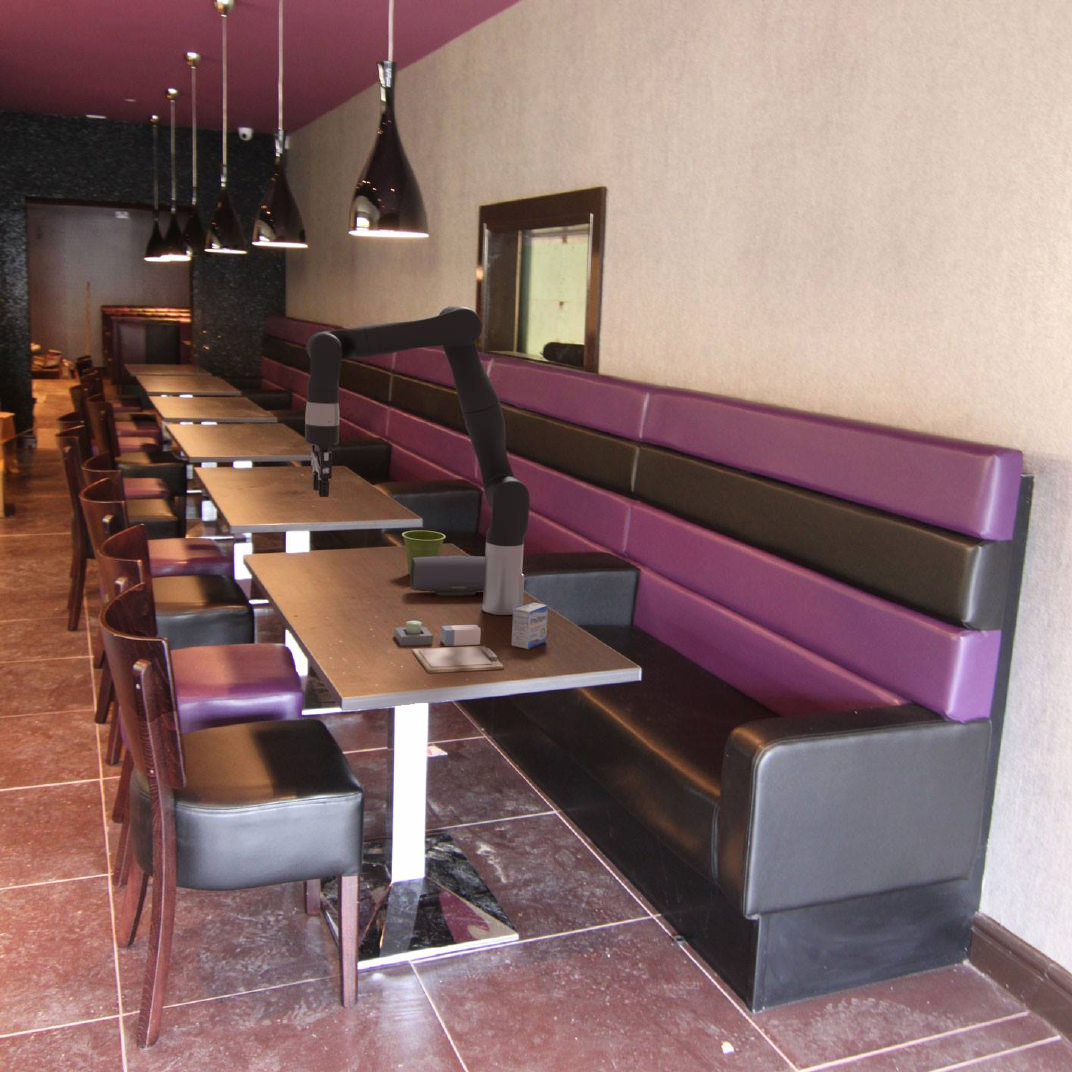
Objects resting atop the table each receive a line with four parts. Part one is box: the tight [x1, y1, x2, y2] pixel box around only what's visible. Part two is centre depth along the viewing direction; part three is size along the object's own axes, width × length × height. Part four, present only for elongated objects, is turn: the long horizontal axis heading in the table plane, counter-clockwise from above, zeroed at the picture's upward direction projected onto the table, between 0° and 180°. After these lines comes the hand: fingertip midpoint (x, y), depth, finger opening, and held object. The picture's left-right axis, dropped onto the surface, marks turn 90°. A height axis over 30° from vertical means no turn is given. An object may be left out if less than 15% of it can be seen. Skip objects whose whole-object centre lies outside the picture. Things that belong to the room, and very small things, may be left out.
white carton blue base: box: [440, 624, 482, 647], centre depth 248 cm, size 8×4×4 cm, turn 109°
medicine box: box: [511, 602, 549, 650], centre depth 250 cm, size 8×4×9 cm, turn 148°
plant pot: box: [401, 529, 447, 576], centre depth 305 cm, size 12×12×11 cm
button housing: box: [393, 626, 434, 647], centre depth 247 cm, size 7×7×2 cm
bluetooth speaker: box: [409, 555, 485, 596], centre depth 288 cm, size 23×9×10 cm, turn 106°
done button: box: [405, 620, 423, 635], centre depth 247 cm, size 3×3×3 cm
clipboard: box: [412, 645, 505, 674], centre depth 236 cm, size 16×14×1 cm
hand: (320, 493), depth 255 cm, fingers open, 8 cm apart
